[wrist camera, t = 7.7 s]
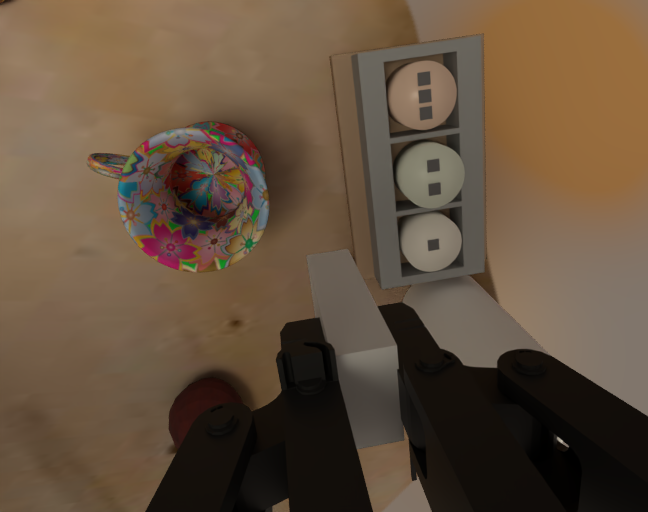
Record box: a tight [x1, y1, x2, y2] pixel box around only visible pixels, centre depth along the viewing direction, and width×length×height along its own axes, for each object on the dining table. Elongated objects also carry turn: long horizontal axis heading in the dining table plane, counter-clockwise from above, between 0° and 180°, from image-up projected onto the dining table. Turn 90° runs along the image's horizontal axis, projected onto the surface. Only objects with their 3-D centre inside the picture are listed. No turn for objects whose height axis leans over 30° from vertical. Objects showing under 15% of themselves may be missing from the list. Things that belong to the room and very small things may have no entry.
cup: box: [402, 275, 563, 443], centre depth 38 cm, size 8×8×16 cm
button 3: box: [385, 61, 457, 130], centre depth 36 cm, size 5×5×3 cm
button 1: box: [397, 210, 462, 272], centre depth 40 cm, size 5×5×3 cm
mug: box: [87, 122, 269, 272], centre depth 34 cm, size 12×9×11 cm
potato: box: [169, 378, 244, 449], centre depth 44 cm, size 7×8×6 cm
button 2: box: [393, 140, 465, 208], centre depth 37 cm, size 5×5×3 cm
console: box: [330, 34, 487, 289], centre depth 39 cm, size 12×19×4 cm, turn 8°
